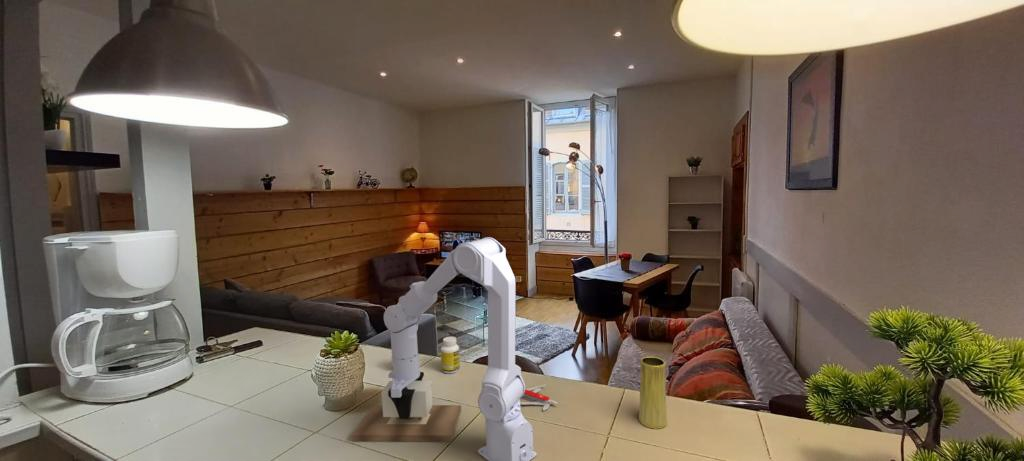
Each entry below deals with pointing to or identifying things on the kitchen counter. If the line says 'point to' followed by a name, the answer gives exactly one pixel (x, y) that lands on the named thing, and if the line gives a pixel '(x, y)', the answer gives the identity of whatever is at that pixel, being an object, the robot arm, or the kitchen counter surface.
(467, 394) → the kitchen counter surface
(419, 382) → the block
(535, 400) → the swiss army knife
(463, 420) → the kitchen counter surface
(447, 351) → the supplement bottle
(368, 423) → the pin board
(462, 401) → the kitchen counter surface
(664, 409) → the vase
